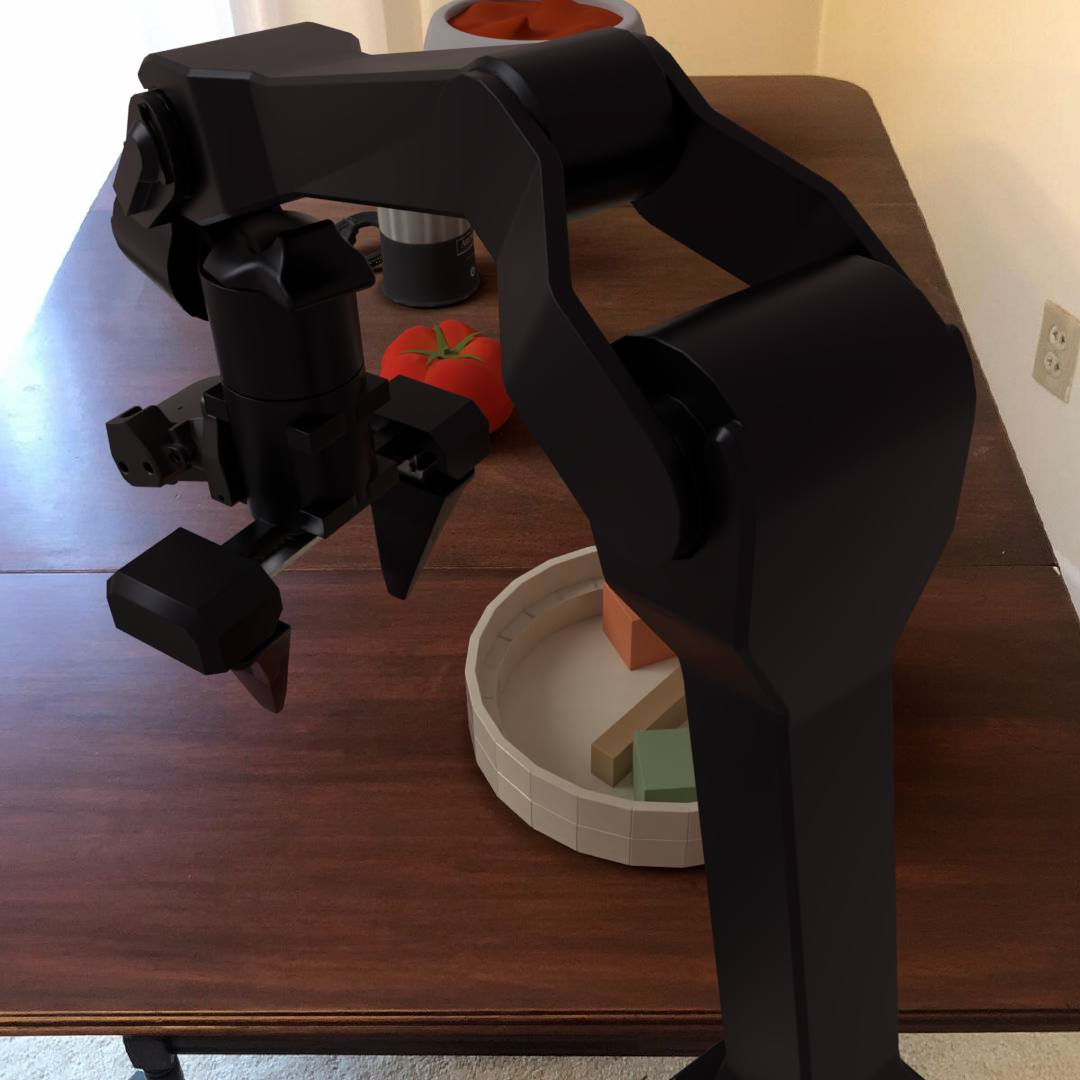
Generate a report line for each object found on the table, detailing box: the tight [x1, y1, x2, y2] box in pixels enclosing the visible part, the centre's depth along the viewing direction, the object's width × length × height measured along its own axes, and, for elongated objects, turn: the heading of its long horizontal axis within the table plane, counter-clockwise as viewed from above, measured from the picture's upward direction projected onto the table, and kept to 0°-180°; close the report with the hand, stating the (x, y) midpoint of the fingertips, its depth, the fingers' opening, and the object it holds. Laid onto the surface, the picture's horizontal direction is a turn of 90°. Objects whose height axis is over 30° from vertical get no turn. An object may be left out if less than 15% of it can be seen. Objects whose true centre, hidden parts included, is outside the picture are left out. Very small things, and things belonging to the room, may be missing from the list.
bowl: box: [464, 545, 704, 869], centre depth 69 cm, size 21×21×5 cm
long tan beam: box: [591, 666, 688, 788], centre depth 69 cm, size 2×12×2 cm, turn 138°
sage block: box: [632, 728, 697, 803], centre depth 64 cm, size 4×4×4 cm
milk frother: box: [335, 207, 481, 308], centre depth 112 cm, size 14×16×15 cm
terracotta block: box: [602, 581, 677, 670], centre depth 74 cm, size 4×4×4 cm
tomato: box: [379, 318, 515, 434], centre depth 94 cm, size 11×11×8 cm
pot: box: [422, 0, 648, 51], centre depth 131 cm, size 24×24×18 cm
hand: (338, 649), depth 58 cm, fingers open, 9 cm apart
